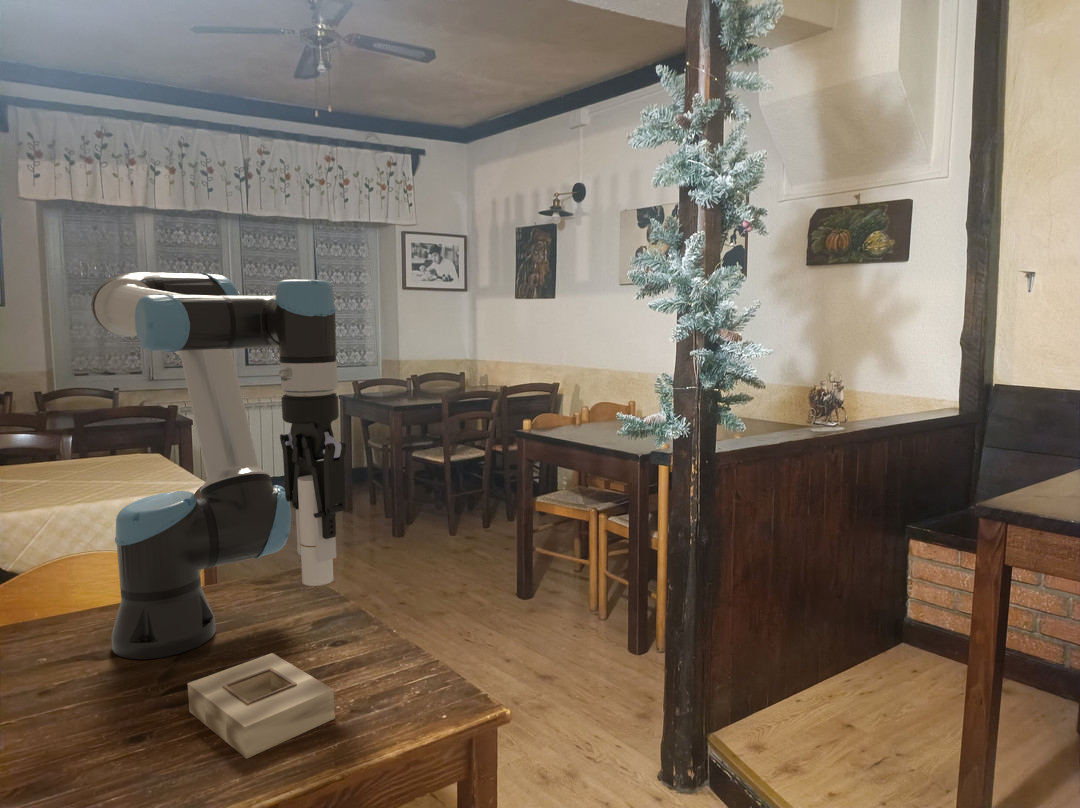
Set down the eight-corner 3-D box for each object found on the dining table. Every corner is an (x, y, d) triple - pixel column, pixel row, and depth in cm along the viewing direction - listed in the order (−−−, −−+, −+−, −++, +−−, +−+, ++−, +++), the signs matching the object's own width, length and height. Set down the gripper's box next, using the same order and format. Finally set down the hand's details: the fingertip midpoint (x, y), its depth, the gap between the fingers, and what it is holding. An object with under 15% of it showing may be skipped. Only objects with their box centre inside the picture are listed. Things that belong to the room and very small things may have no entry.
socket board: (189, 711, 101) (187, 681, 100) (273, 679, 110) (272, 651, 109) (246, 758, 90) (244, 725, 89) (334, 718, 99) (333, 687, 98)
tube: (324, 586, 106) (320, 481, 104) (296, 584, 107) (291, 480, 105) (338, 576, 110) (334, 474, 108) (311, 574, 111) (307, 473, 109)
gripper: (253, 390, 108) (262, 549, 111) (319, 399, 96) (327, 576, 99) (301, 386, 113) (308, 537, 116) (369, 394, 102) (374, 562, 105)
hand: (316, 555), depth 108 cm, fingers closed on tube, 4 cm apart
